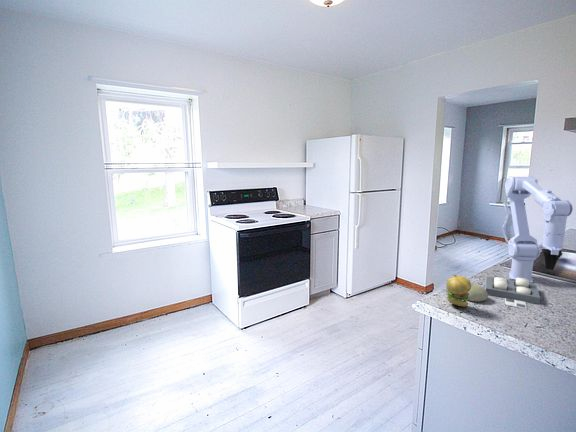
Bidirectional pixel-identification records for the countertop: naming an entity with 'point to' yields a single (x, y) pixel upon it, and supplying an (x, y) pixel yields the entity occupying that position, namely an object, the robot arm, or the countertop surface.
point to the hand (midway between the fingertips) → (549, 269)
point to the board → (513, 291)
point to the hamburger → (458, 290)
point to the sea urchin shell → (477, 293)
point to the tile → (515, 303)
